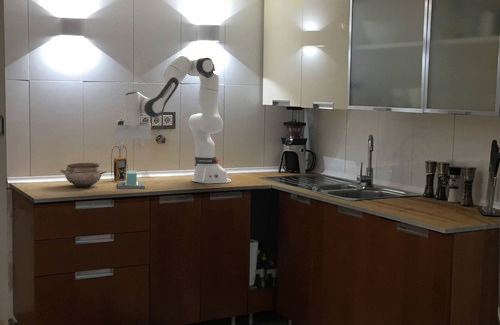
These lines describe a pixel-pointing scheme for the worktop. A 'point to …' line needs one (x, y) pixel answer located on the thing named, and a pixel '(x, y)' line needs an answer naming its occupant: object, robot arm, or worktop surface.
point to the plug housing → (131, 178)
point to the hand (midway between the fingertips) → (131, 147)
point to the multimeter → (119, 167)
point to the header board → (124, 185)
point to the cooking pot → (83, 173)
